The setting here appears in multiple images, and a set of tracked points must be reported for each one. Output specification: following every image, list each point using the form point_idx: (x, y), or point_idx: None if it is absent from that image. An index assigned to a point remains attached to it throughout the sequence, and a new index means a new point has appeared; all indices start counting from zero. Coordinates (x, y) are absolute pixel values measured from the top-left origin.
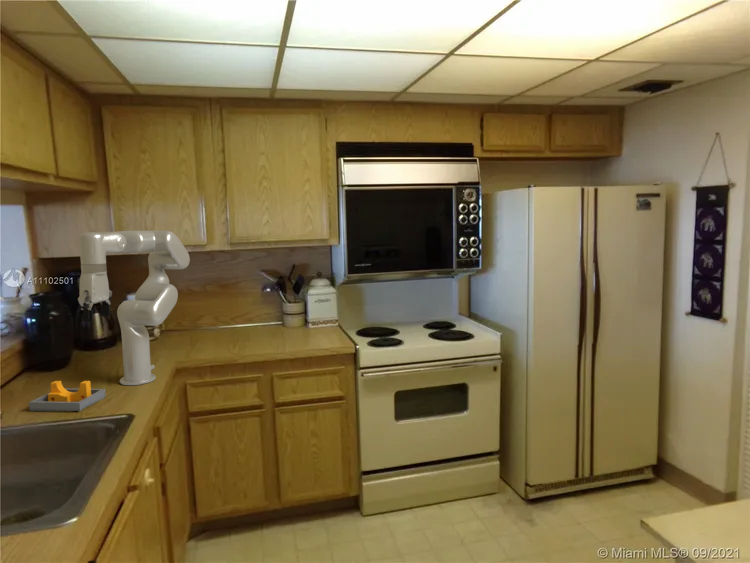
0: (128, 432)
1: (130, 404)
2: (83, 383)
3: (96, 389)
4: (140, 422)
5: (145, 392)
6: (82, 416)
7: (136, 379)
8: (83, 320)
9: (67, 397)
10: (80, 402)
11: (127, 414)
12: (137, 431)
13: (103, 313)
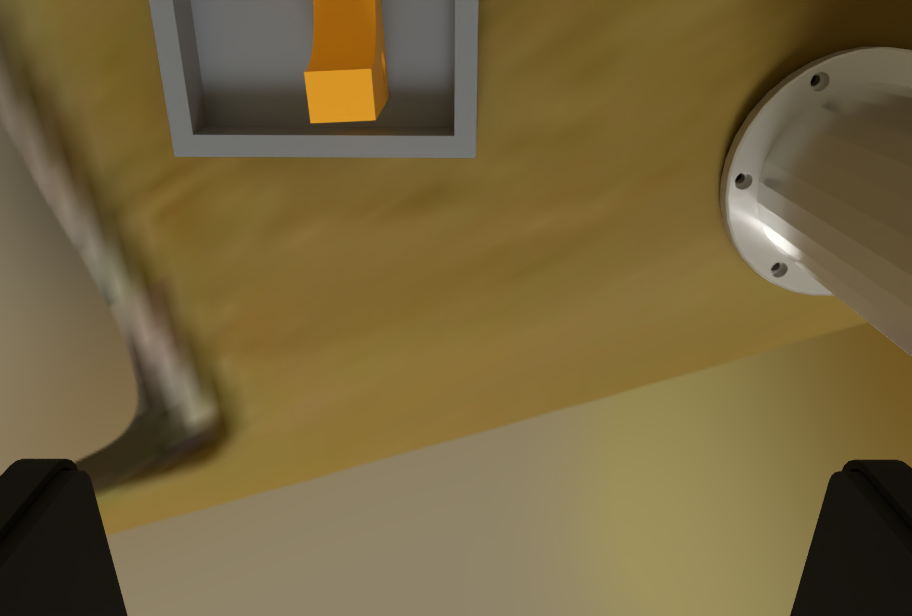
0: None
1: (361, 362)
2: (309, 100)
3: (463, 97)
4: (140, 516)
5: (571, 344)
6: (138, 203)
7: (764, 221)
8: (11, 473)
9: None
10: (188, 155)
11: (219, 418)
12: None
13: (855, 586)
